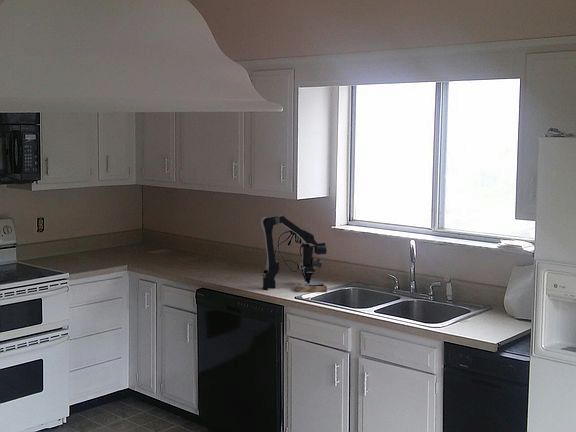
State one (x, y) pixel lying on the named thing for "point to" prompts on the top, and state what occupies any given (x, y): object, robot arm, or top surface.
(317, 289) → the frame
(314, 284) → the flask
